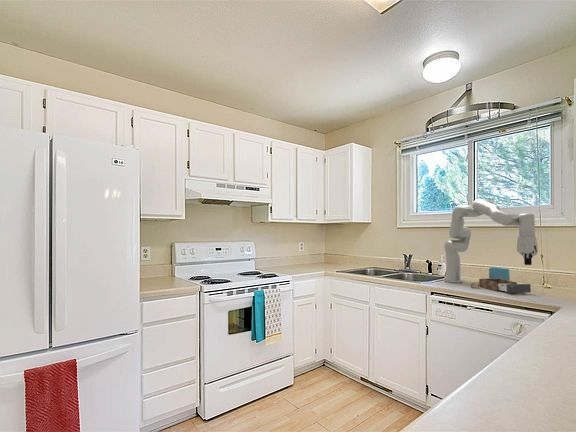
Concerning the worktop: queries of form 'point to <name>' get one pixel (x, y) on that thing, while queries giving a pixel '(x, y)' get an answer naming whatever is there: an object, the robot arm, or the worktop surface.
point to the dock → (493, 283)
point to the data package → (499, 273)
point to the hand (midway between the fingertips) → (528, 264)
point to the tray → (515, 288)
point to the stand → (474, 285)
